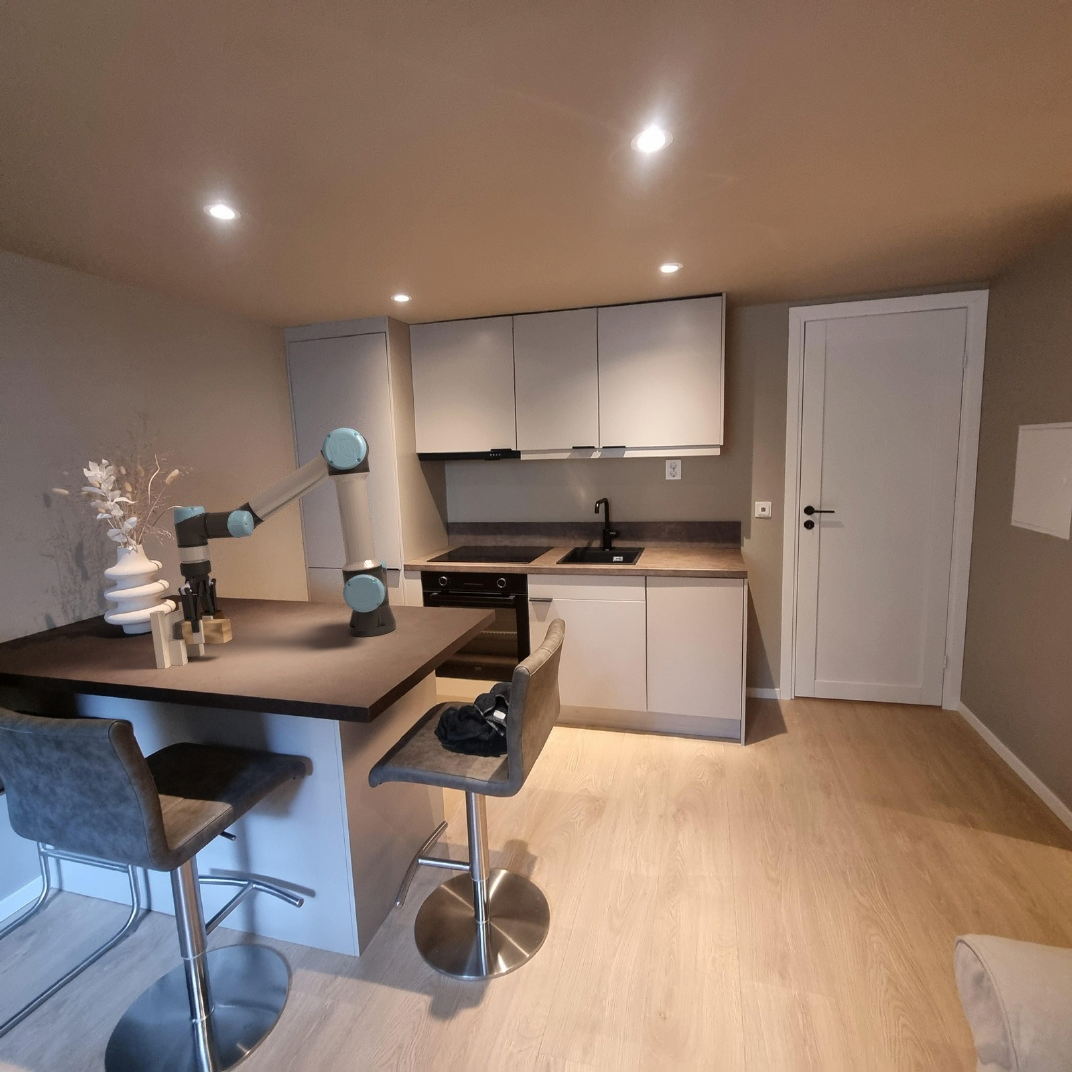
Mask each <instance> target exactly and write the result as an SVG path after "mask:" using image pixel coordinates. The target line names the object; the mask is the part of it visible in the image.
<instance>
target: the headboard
mask: <svg viewBox="0 0 1072 1072" xmlns="http://www.w3.org/2000/svg"><path fill="white" fill-rule="evenodd" d="M149 618H150V624H151V625H150V626H151V633H152V641H153V646H154V647H153V648H154V654H155V656H154V657H155V662H156V669H158V670H160V669H161V670H163V669H168V668H169V667H171V666H172V667H173V666H176V667H177V666H185V665H186V664H188V663H189V660H188V657H202V656H204V655H205V654H206V653H205V646H204V645H205V644H185V639H176V631H175V624H174V623H175V622H178V621H180V620H182V619H184V615H183V608H182V602H181V601H180V602H179V601H178V610H175V611H173V612H169V613H166V614H165V610H154V611H151V612H149Z"/></svg>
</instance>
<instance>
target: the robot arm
mask: <svg viewBox="0 0 1072 1072" xmlns="http://www.w3.org/2000/svg"><path fill="white" fill-rule="evenodd" d="M322 442H323V443H322V449H321V450H319V451H318V452H319V453H318V456H316V457H314V458H313V459H312V460H309V461H308V462H307V463H306V464H304V465H302V466H301V467H299V468H298V469H296V470H294V471H293V472H292V473H290V474H289V475H286V477H284V478H282V479H281V480H279V481H277V482H276V483H274V484H273V485H271V486H270V487H269V488H267V489H264V491H262V492H261V493H258V495H256V496H254V497H253V498H252V499H250V500H248V501H247V502H245V503H244V504H241V506H239V507H237V508H236V509H233V510H228V511H217V512H206V510H205V508H204V506H202V505H194V506H193V505H192V506H188V505H187V506H182V507H181V506H180V507H176V508H175V509H174V510H173V522H174V523H173V526H174V531H175V537H176V543H177V545H176V546H177V551H178V561H180V564H179V569H180V575H181V576H182V577H184V579H185V580H184V585H183V586H182V587H178V589H177V590H178V591H177V592H178V595H179V597H180V602H182V608H183V615H184V620H185V621H187V622H191V627H192V633H193V639H194V644H195V643H205V640H204V631H203V623H202V620H210V619H213V615H216V614H217V612H215V611H217V610H218V609H219V607H218V601H217V600H218V598H217V597H218V596H217V588H216V585H217V578H215V577H213V578H212V577H210V575H209V574H211V573H212V563H211V560H210V558H211V554H210V548H209V547H210V545H209V540H213V539H229V538H230V539H231V538H237V539H240V538H244V537H245V538H246V537H250V536H252V534H253V532H254V530H255V529H256V528H257V527H258V526H259V525H261V524H263V523H264V522H265V521H267V520H269V519H270V518H271V517H273V516H275V515H276V514H277V513H279V512H281V511H282V510H283V509H285V508H287V507H288V506H290V505H291V504H293V503H295V502H297V500H299V499H301V498H302V497H304V496H305V495H306V494H308V493H310V492H311V491H313V490H315V489H316V488H318V487H319V486H320V485H323V484H324V483H325V482H327V481H328V480H330V479H331V480H332V481H333V482H334V485H335V490H336V499H337V505H338V511H339V512H338V514H339V520H340V526H341V533H342V534H341V535H342V541H343V548H344V554H345V555H344V556H345V564H344V565H343V566H342V567H341V572H342V573H341V574H342V580H343V590H342V597H343V600H344V602H345V604H346V605H347V606H348V607H349V608H350V609H351V614H350V618H349V619H350V620H349V623H348V634H349V635H350V636H353V637H363V638H365V637H376V636H381V635H385V634H388V633H391V632H394V631H395V630H396V629H397V620H396V617H395V615H394V613H393V611H392V608H391V605H390V598H389V585H388V574H387V573H388V572H387V571H388V567H387V564H386V562H385V560H379V559H378V558H377V556H376V555H377V554H376V548H375V542H374V535H373V526H372V520H371V511H370V505H369V504H370V503H369V496H368V489H367V488H368V487H367V481H366V479H367V478H368V476H369V475H370V474H371V471H370V463H369V454H370V446H369V444H368V440H367V439H366V438H365V437H364V436H363V434H361V433H360V432H358V431H357V430H355V429H353V428H350V427H340V428H336V429H333V430H331V431H330V432H328V434H327V435H326V436H325V438H324V439H323V441H322ZM201 608H202V612H203V613H204V615H206V616H203V617H202V620H200V612H201Z"/></svg>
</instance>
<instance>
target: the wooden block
mask: <svg viewBox="0 0 1072 1072" xmlns="http://www.w3.org/2000/svg"><path fill="white" fill-rule="evenodd" d="M202 623H203V631H204V640H205V643H195V644H204V645H206V644H211V645H212V644H214V645H215V644H225V643H227V642H229V641H231V640H233V631H232V625H231V624H232V623H231V619H230V618H224V619H210V620H202ZM174 624H175V631H176V639H185V644H194V639H193V633H192V627H191V622H187V621H185V620H184V619H182V620H180V621H178V622H175V623H174Z"/></svg>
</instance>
